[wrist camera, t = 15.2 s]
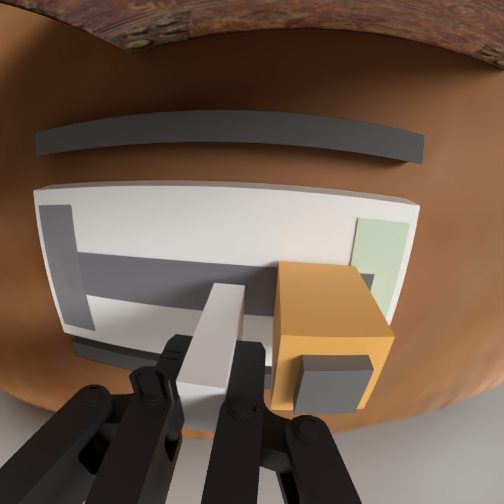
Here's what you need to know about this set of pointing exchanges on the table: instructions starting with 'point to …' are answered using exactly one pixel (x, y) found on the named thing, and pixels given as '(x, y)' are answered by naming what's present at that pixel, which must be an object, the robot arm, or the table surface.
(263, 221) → the panel
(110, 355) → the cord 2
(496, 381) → the table surface
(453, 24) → the book
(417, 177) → the table surface
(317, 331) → the lever
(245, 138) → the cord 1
